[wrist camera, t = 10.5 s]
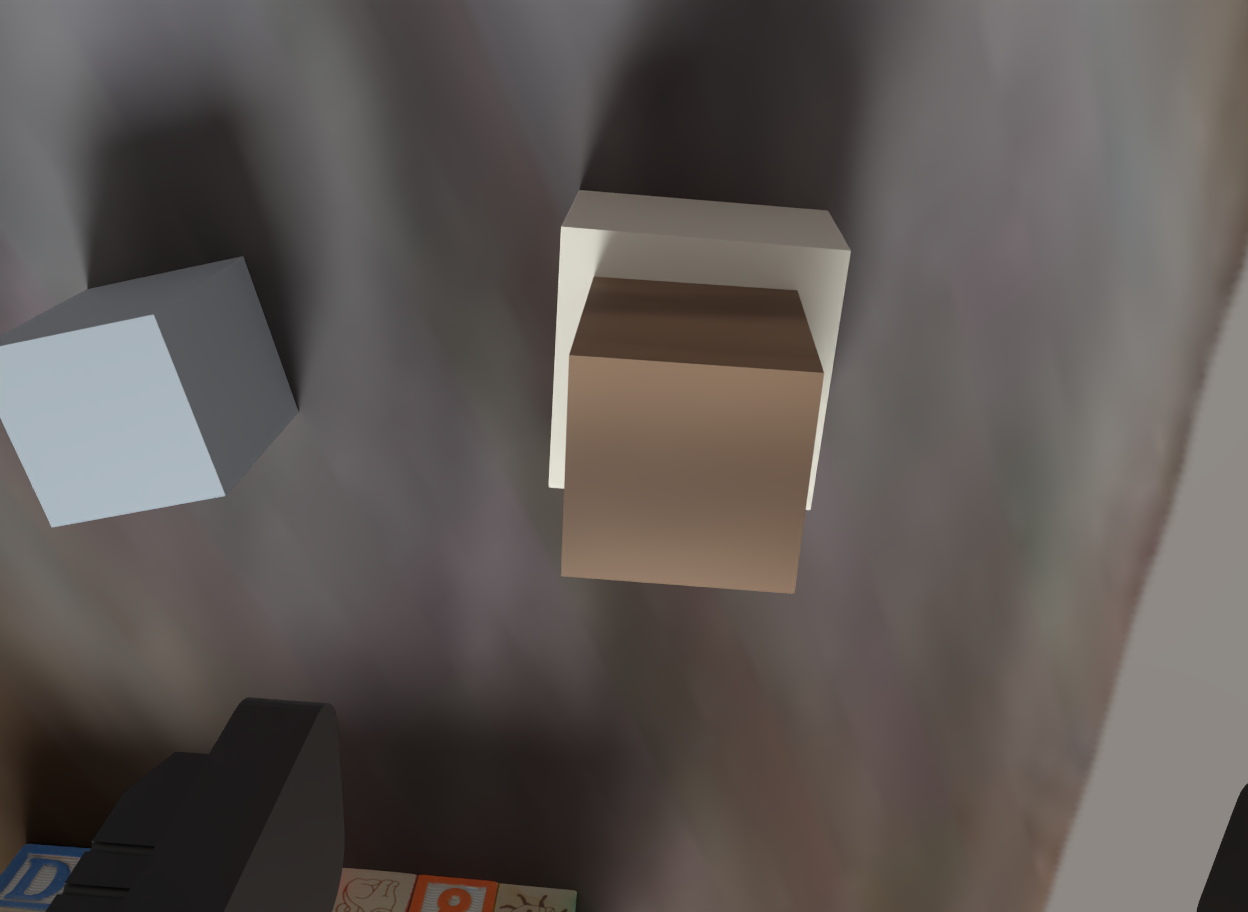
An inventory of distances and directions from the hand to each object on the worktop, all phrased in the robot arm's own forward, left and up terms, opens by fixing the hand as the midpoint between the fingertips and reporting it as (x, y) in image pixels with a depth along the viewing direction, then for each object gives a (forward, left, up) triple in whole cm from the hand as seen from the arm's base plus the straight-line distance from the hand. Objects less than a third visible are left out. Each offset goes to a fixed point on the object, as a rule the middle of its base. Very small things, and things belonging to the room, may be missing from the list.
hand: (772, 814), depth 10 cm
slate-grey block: (+5, -15, -24) cm, 29 cm away
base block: (+3, 0, -24) cm, 24 cm away
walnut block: (+3, -1, -19) cm, 19 cm away
